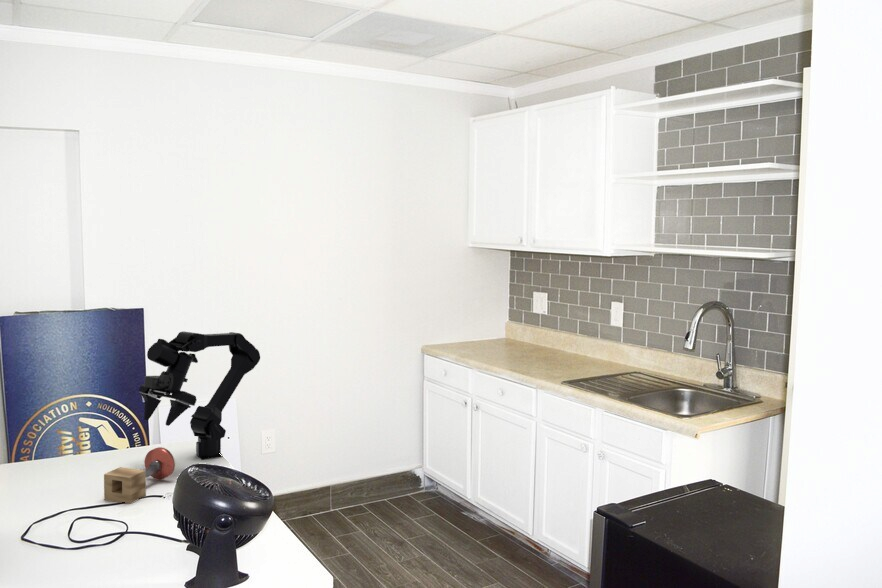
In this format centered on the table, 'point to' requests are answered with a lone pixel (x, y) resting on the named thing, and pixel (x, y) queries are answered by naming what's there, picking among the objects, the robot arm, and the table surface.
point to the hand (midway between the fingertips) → (156, 422)
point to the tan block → (124, 485)
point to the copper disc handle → (159, 463)
